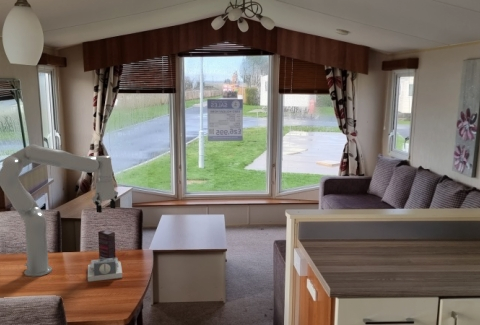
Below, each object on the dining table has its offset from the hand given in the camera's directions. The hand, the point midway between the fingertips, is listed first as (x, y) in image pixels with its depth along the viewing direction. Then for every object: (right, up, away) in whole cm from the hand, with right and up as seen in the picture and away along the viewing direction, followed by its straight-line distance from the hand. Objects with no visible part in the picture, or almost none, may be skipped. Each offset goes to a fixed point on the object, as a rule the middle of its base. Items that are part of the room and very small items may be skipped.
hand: (106, 210), depth 234 cm
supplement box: (-1, -28, +4) cm, 28 cm away
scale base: (+4, -30, -15) cm, 34 cm away
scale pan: (+3, -26, -14) cm, 30 cm away
